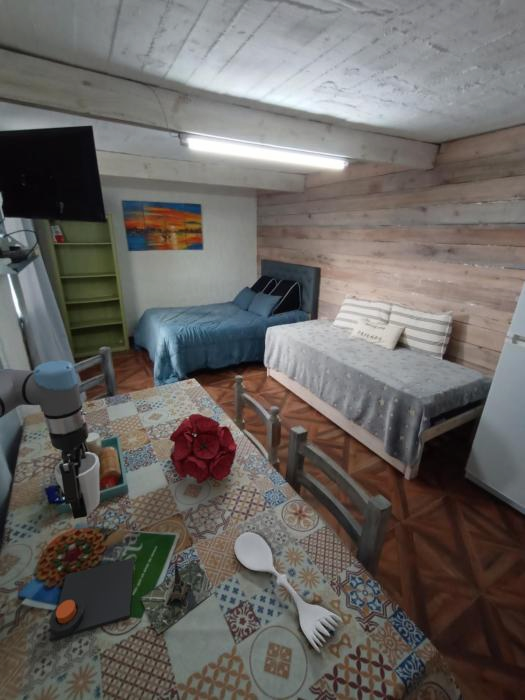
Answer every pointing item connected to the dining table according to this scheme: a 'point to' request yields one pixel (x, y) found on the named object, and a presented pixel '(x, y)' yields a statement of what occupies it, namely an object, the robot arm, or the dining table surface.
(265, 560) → the spoon
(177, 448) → the bouquet
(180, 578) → the eiffel tower figurine
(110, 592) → the scale
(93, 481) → the foam cup
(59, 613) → the tare button
